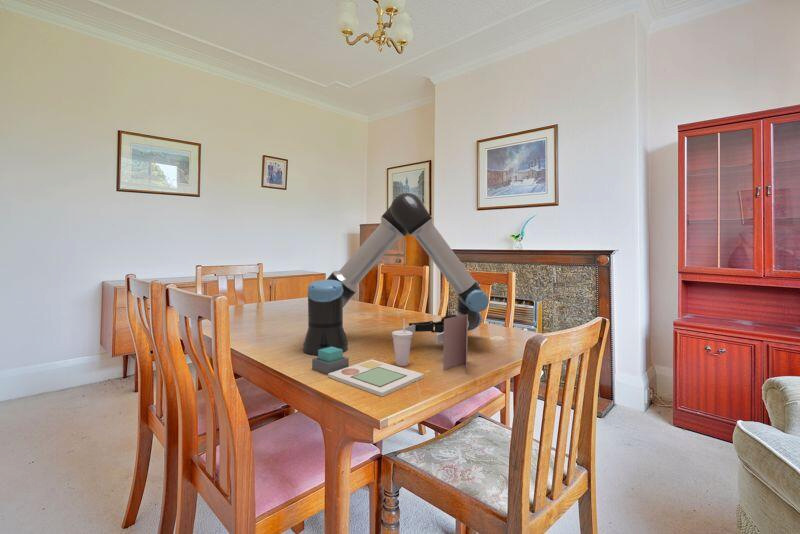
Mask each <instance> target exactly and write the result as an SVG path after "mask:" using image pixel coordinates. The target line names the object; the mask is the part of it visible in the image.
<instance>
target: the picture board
mask: <svg viewBox="0 0 800 534" xmlns="http://www.w3.org/2000/svg"><path fill="white" fill-rule="evenodd" d="M329 377H330V378H329ZM327 378H329V379H331V378H332V379H333V380H334V379H335V380H334V381H337V382H340V383H343V384H346V385H349V386H351V387H354V388H357V389H359V390H363V391H364V392H368V393H371V394H373V395H376V396H379V397H381V398H383V397H385V396H388V395H389V394H392V393H394V392H396V391H397V390H400V389H402V388H405V387H407V386H409V385H412V384H414V383H416V382H417V381H419V380H423V379H424V378H425V374H424V373H422V372H417V371H415V370H411V369H407V368H404V367H402V366H398V365H394V364H389V363H386V362H383V361H379V360H376V359H372V358H370V359H368V360H365V361H362V362H359V363H356V364H353V365H351V366H349V367H347V368H344V369H341V370H338V371H335V372H332V373H329V374H327ZM415 381H416V382H415ZM413 382H414V383H413Z"/></svg>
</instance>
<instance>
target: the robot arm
mask: <svg viewBox="0 0 800 534" xmlns="http://www.w3.org/2000/svg"><path fill="white" fill-rule="evenodd" d="M433 220H434V219H433V217H432V216H431V214H430V213H429V211H428V210H427V208H426V206H425V205H424V204H423V202H422V200H421V199H420V198H419V196H417V195H416V194H414V193H411V192H403V193H401V194H398V195H397V196H396V197H395V198H393V201H392V202H391V205H390V206H389V207H388V208H387V209H386V211H385V212H384V213H383V214H382V215H381V216H380V224H379V225H378V226H377V227H376V228H375V229H374V230H373V232H372V233H371V234H370V235H369V236H368V238H367V239H366V240H365V241H364V242H363V243H362V244H361V245H360V246H359V248H358V249H357V250H356V251H355V252H354V254H353V255H352V256H351V257H350V258H349V259H348V260H347V261H346V263H345V264H344V265H343V266H342V267H341V268H340V269H339V270H334V271H333V272H331V274H330V275H329V276H328V277H327V278H326V279H319V280H314V281H312V282H310V283H309V284H308V288H307V308H308V309H307V311H308V312H307V313H308V314H307V320H308V321H307V322H308V324H307V325H308V328H307V331H306V334H305V337H304V341H303V344H302V347H303V348H302V351H303V352H304V353H306V354H308V355H313V356H314V355H316V356H318V350H320V349H324V348H328V347H331V346H332V347H335V348H339V349H343V353H344V352H346V351H348V349H349V341H348V338H347V335H346V332H345V329H344V320H343V319H344V317H343V315H344V312H343V311H344V309H343V308H344V307H345V306H346V304H347V303H348V302H349V301H350V300H351V299H352V297H353V296H354V295H355V294H356V293H357V291H358V288H357V286H358V285H359V283H360V282H361V281H362V280H363V279H364V278H365V276H366V275H367V274H368V273H369V272H370V271H371V270H372V269H373V268H374V266H375V265H376V264H377V263H378V262H379V261H380V260H381V259H382V257H383V256H384V255H385V254H386V253H387V252H388V250H389V249H390V248H391V247H392V246H393V244H394V243H395V242H396V241H397V240H398V239H402V238H403V239H404V238H406V237H407V235H409V236H411V237H414V238H415V239H416V241H417V242H418V243H419V245H420V246H421V247H422V248H423V250H424V251H425V252H426V254H427V255H428V257H429V258H430V259H431V261H433V263H434V265H435V266H436V267H437V269H438V270H439V271H440V272H441V274H442V275H443V276H444V278H445V280H447V282H448V283H449V285H450V286H451V287H452V288H453V290H454V292H456V294H457V312H455V313H452V314H449V315H445V316H443V317H442V318H441V320H439V321H433V320H429V321H419V322H409V323H408V325H407V326H405V331H411V332H412V333H413V335H414V334H415V333H418V332H420V333H421V332H430V333H434V334H435V333H436V334H435V344H441V343H444V319H447V318H451V317H456V316H461V315H466V314H468V332H469V331H472V330H475V329H477V328H479V327H480V326H481V324H482V321H483V317H482V314H481V312H484V311H485V310H486V309H487V308H488V306H489V304H490V303H489V302H490V298H489V296H488V295H487V293H486V292H485V291H483V290H482V288H481V287H480V286H479V282H478V281H477V279H474V277H472V275H471V274H470V272H469V271H468V269H467V268H466V267H465V265H464V264H463V263H462V261H461V260H460V259H459V257H458V256H457V255H456V253H455V252H454V250H453V249H452V248H451V246H450V245H449V244H448V242H447V241H446V240H445V238H444V237H443V235H442V234H441V233H440V231H439V230H438V229H437V228H436V226H435V224H434V223H433ZM401 330H403V327H401Z"/></svg>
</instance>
